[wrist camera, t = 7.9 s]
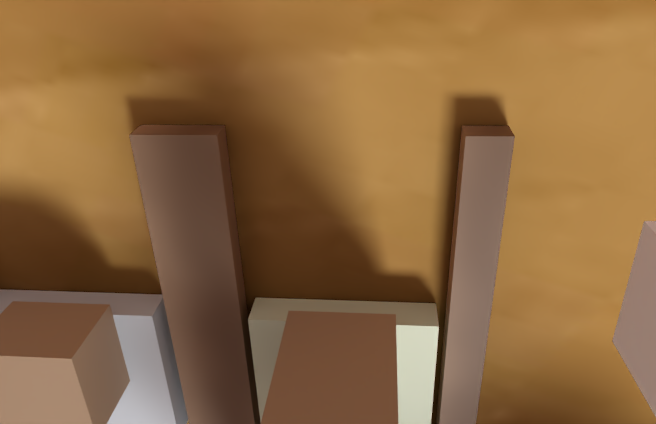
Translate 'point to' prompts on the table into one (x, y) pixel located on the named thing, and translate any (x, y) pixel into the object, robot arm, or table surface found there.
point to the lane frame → (227, 275)
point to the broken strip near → (87, 359)
